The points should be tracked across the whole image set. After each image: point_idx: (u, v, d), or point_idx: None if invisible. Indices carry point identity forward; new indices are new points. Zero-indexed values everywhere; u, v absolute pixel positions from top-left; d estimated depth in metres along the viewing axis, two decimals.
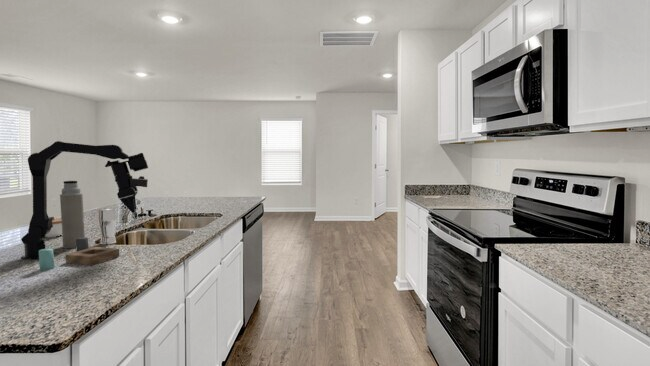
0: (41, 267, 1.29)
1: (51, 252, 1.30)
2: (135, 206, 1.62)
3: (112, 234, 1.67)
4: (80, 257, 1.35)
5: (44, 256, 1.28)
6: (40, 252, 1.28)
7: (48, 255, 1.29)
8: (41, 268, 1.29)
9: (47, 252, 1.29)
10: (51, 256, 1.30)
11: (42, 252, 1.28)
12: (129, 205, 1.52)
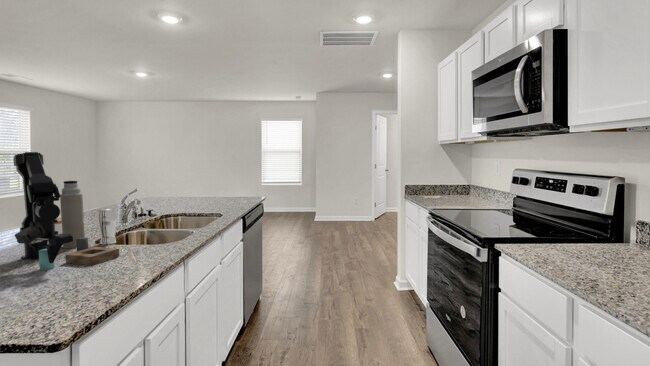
0: (41, 267, 1.29)
1: None
2: (49, 260, 1.29)
3: (112, 234, 1.67)
4: (80, 257, 1.35)
5: (44, 256, 1.28)
6: (40, 252, 1.28)
7: None
8: (41, 268, 1.29)
9: (47, 252, 1.29)
10: None
11: (42, 252, 1.28)
12: None
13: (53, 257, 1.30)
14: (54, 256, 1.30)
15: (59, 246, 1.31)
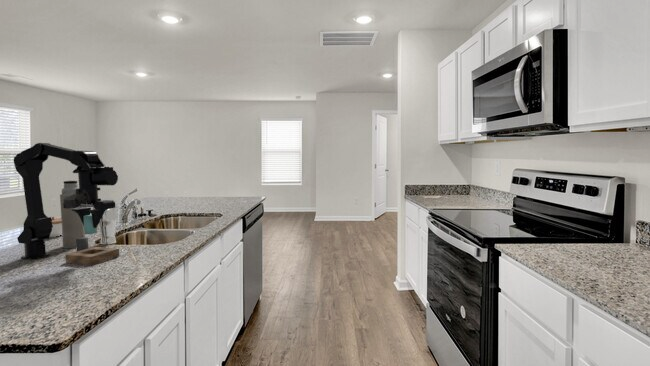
0: (86, 231, 1.38)
1: None
2: (93, 224, 1.39)
3: (112, 234, 1.67)
4: (80, 257, 1.35)
5: (89, 221, 1.38)
6: (85, 217, 1.38)
7: None
8: (86, 232, 1.38)
9: (91, 217, 1.38)
10: None
11: (87, 217, 1.38)
12: None
13: (97, 222, 1.39)
14: (98, 221, 1.39)
15: (102, 212, 1.40)
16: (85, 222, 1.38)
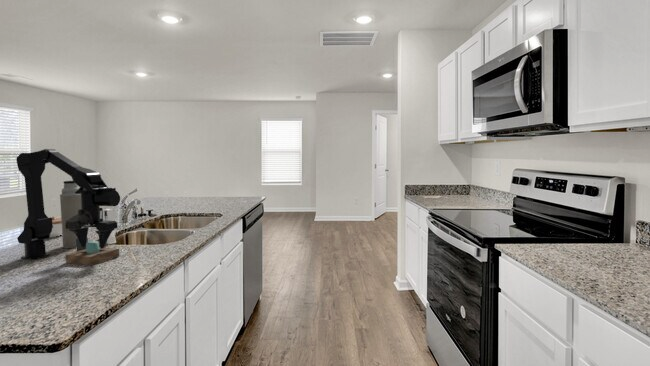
0: None
1: (97, 244, 1.41)
2: (100, 245, 1.39)
3: (112, 234, 1.67)
4: (80, 257, 1.35)
5: (91, 248, 1.39)
6: (88, 244, 1.39)
7: (95, 247, 1.40)
8: None
9: (94, 244, 1.39)
10: (97, 248, 1.41)
11: (89, 244, 1.39)
12: None
13: (104, 243, 1.40)
14: (104, 242, 1.40)
15: (109, 233, 1.41)
16: (88, 249, 1.39)
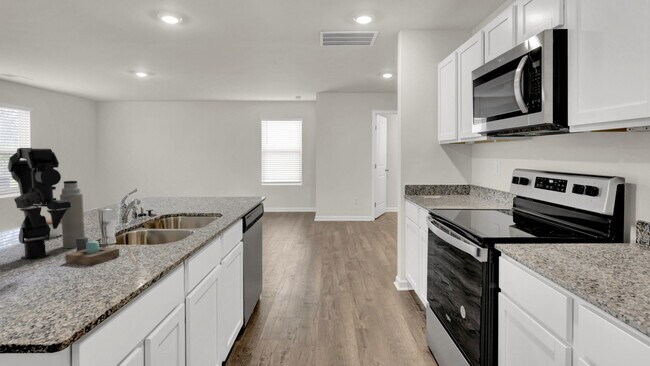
0: None
1: (97, 244, 1.41)
2: (53, 225, 1.33)
3: (112, 234, 1.67)
4: (80, 257, 1.35)
5: (91, 248, 1.39)
6: (88, 244, 1.39)
7: (95, 247, 1.40)
8: None
9: (94, 244, 1.39)
10: (97, 248, 1.41)
11: (89, 244, 1.39)
12: None
13: (57, 223, 1.33)
14: (58, 222, 1.34)
15: (62, 212, 1.34)
16: (88, 249, 1.39)
